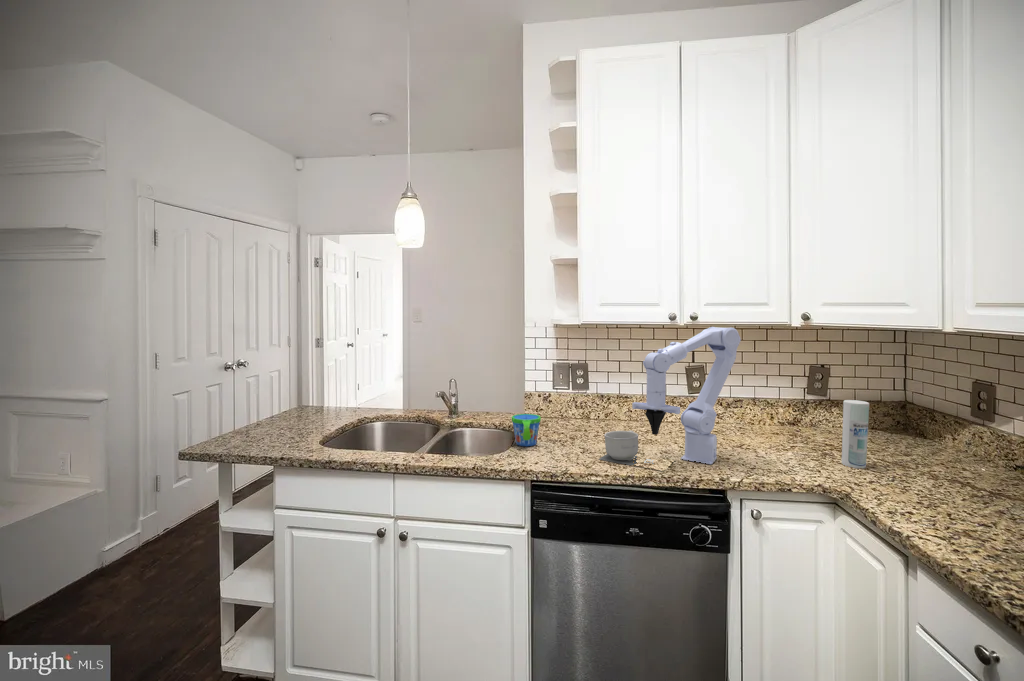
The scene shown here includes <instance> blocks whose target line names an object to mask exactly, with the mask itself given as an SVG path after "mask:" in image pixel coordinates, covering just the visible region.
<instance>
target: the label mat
mask: <svg viewBox="0 0 1024 681" xmlns="http://www.w3.org/2000/svg"><path fill="white" fill-rule="evenodd" d="M634 457H635V458H634ZM634 457H633V458H632V459H630V460H616V459H613V458H612V457H611V456H609V455H608V454H607V453H606V454H605V455H603V456H601V457H600V458H599V459H598V460H600V461H606V462H610V463H611V462H612V463H615V464H620V465H625V464H626V465H627V466H631V465H634V464H636V463H637V462H636V460H637V459H636V458H637V456H634ZM633 459H635V460H633ZM647 460H648V461H651V459H646V460H645V461H644V463H651V462H652V464H654V463H653V461H654V460H652V461H651V462H646V461H647ZM633 461H634V463H633ZM626 465H625V466H626Z"/></svg>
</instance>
